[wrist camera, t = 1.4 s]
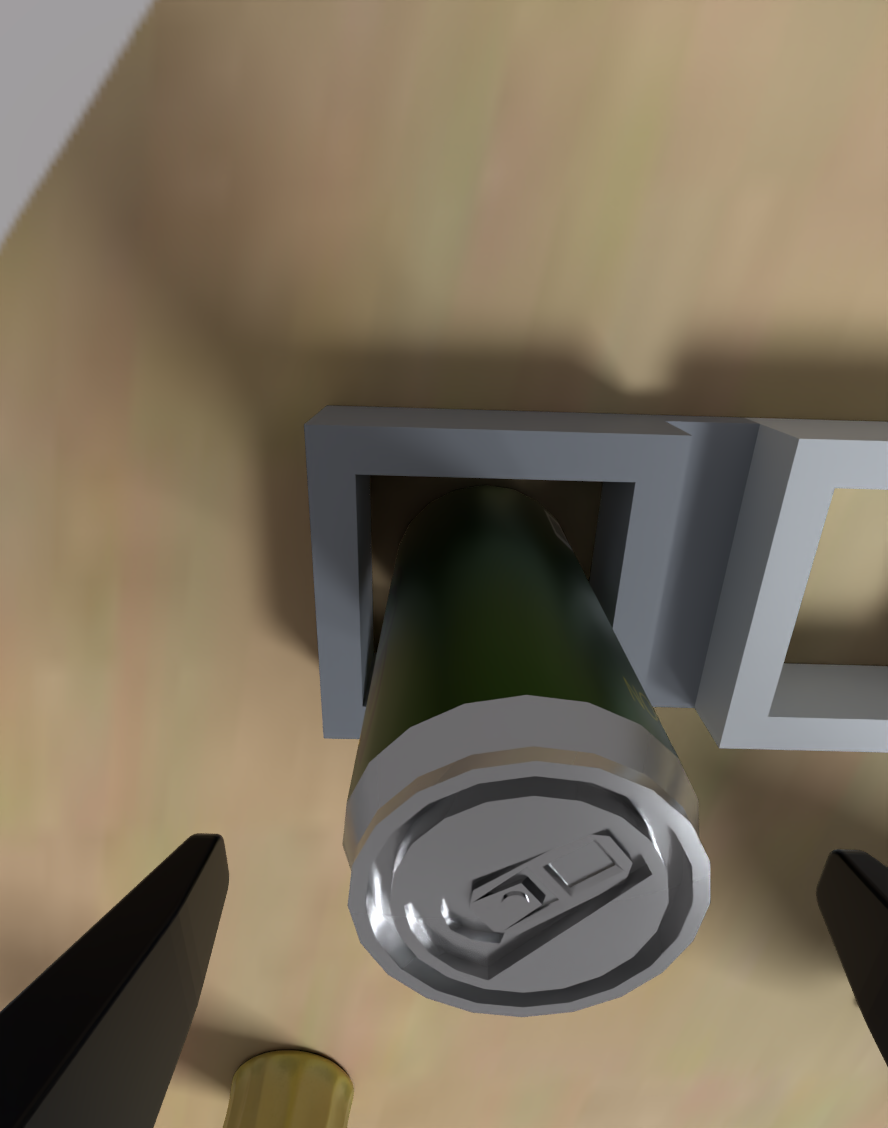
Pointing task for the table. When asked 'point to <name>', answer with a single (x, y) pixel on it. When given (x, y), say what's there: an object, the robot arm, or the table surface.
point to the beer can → (514, 778)
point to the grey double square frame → (630, 551)
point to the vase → (289, 1092)
